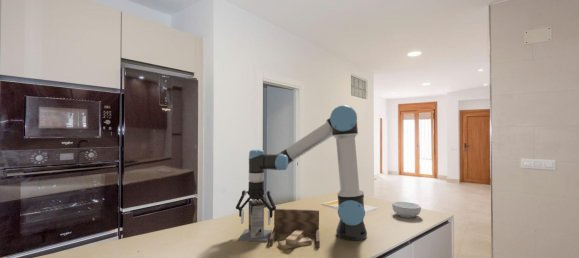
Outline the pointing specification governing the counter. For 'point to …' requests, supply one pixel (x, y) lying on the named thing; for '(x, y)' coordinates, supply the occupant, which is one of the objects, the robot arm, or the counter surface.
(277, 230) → the walnut rack
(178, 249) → the counter surface
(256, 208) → the coffee box
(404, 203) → the cereal bowl
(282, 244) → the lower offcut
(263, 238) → the slate mat
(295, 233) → the upper offcut
